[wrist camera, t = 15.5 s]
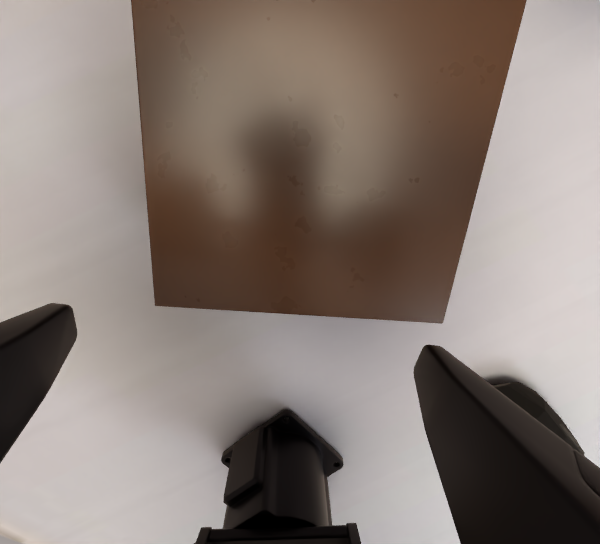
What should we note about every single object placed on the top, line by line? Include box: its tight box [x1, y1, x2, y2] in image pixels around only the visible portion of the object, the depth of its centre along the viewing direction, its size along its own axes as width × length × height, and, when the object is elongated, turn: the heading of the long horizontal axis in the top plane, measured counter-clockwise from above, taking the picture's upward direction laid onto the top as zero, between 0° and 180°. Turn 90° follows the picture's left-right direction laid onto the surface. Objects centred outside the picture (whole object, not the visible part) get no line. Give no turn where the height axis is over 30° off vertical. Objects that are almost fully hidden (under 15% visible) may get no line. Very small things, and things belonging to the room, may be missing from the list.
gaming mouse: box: [493, 382, 584, 456], centre depth 23 cm, size 6×15×4 cm, turn 45°
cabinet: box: [131, 0, 526, 323], centre depth 14 cm, size 14×12×6 cm
